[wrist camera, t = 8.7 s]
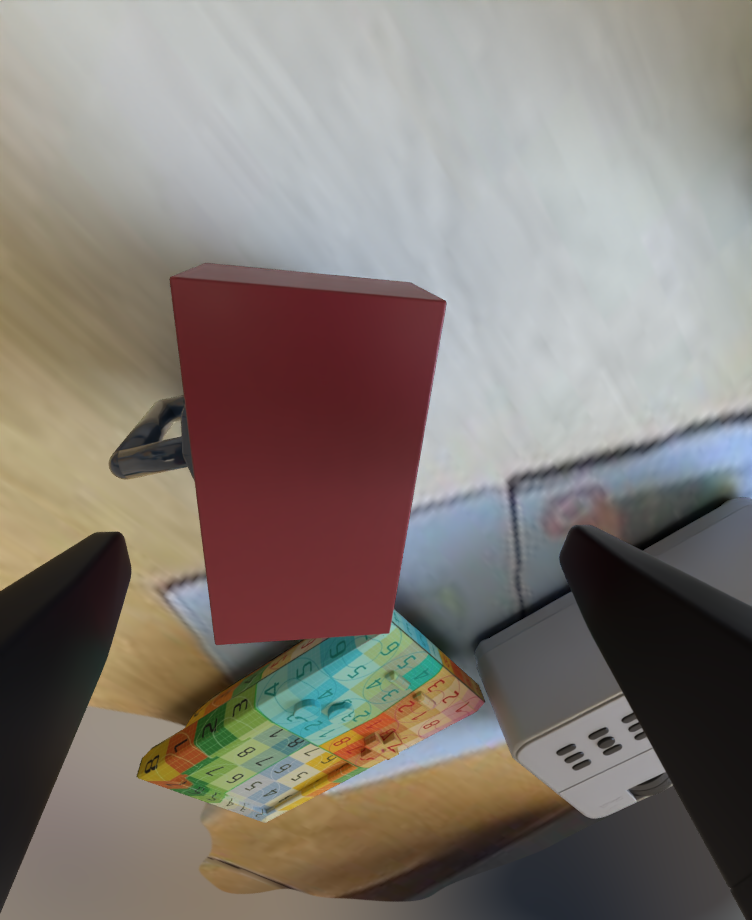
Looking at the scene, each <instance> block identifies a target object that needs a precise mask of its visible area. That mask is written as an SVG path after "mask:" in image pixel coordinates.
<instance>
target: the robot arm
mask: <svg viewBox="0 0 752 920" xmlns="http://www.w3.org/2000/svg"><path fill="white" fill-rule="evenodd" d="M559 561H560V565H561V568H562V570H563V572H564V575H565V577H566V579H567V582H568V584H569V586H570V589H571V591H572V593H573V596H574V598H575V600H576V603H577V605H578V607H579V610H580V612H581V614H582V617H583V619H584V621H585V623H586V625H587V627H588V630H589V631H590V633H591V635H592V637H593V639H594V641H595V643H596V645H597V647H598V648H599V650H600V652H601V654H602V656H603V658H604V659H605V661H606V663H607V665H608V667H609V669H610V670H611V672H612V674H613V676H614V678H615V680H616V681H617V683H618V685H619V687H620V689H621V691H622V692H623V694H624V696H625V698H626V700H627V702H628V703H629V705H630V707H631V709H632V711H633V713H634V714H635V716H636V718H637V720H638V722H639V724H640V725H641V727H642V729H643V731H644V733H645V735H646V736H647V738H648V740H649V742H650V744H651V746H652V747H653V749H654V751H655V753H656V755H657V757H658V758H659V760H660V762H661V764H662V766H663V768H664V769H665V771H666V773H667V775H668V777H669V779H670V780H671V782H672V784H673V786H674V787H675V789H676V791H677V793H678V795H679V797H680V799H681V801H682V802H683V804H684V806H685V808H686V810H687V812H688V813H689V815H690V817H691V819H692V821H693V823H694V824H695V826H696V828H697V830H698V832H699V833H700V835H701V837H702V839H703V841H704V843H705V845H706V846H707V848H708V850H709V852H710V854H711V856H712V857H713V859H714V861H715V863H716V865H717V867H718V869H719V870H720V872H721V874H722V876H723V878H724V880H725V881H726V883H727V885H728V886H729V887H730V888H731V893H732V895H733V897H734V899H735V900H736V902H737V904H738V906H739V908H740V910H741V911H742V913H743V915H744V917H745V919H746V920H752V606H750V605H748V604H746V603H744V602H742V601H740V600H738V599H736V598H734V597H732V596H730V595H728V594H726V593H725V592H723V591H721V590H719V589H717V588H715V587H713V586H711V585H709V584H707V583H705V582H703V581H701V580H699V579H697V578H695V577H693V576H691V575H689V574H687V573H685V572H683V571H681V570H679V569H677V568H675V567H673V566H671V565H669V564H667V563H666V562H664V561H662V560H660V559H658V558H656V557H654V556H652V555H650V554H648V553H646V552H644V551H642V550H640V549H638V548H636V547H634V546H632V545H630V544H628V543H626V542H624V541H622V540H620V539H618V538H616V537H614V536H612V535H610V534H608V533H606V532H605V531H603V530H601V529H599V528H597V527H595V526H592V525H575V526H573V527H572V528H571V529H570V530H569V532H568V535H567V537H566V540H565V542H564V544H563V547H562V549H561V552H560V556H559ZM130 578H131V563H130V559H129V555H128V551H127V546H126V542H125V538H124V536H123V535H122V534H121V533H120V532H96V533H94V534H92V535H90V536H88V537H87V538H85V539H84V540H82V541H80V542H79V543H77V544H76V545H74V546H72V547H71V548H69V549H67V550H66V551H64V552H63V553H61V554H59V555H58V556H56V557H55V558H53V559H51V560H50V561H48V562H47V563H45V564H43V565H42V566H40V567H39V568H37V569H35V570H34V571H32V572H30V573H29V574H27V575H26V576H24V577H22V578H21V579H19V580H18V581H16V582H14V583H13V584H11V585H10V586H8V587H6V588H5V589H3V590H2V591H0V912H1V910H2V908H3V906H4V903H5V901H6V899H7V896H8V894H9V891H10V889H11V887H12V884H13V882H14V879H15V877H16V875H17V872H18V870H19V867H20V865H21V863H22V860H23V858H24V855H25V853H26V851H27V849H28V846H29V843H30V841H31V839H32V837H33V834H34V832H35V829H36V827H37V825H38V822H39V820H40V818H41V815H42V813H43V810H44V808H45V806H46V803H47V801H48V799H49V796H50V794H51V791H52V789H53V787H54V784H55V782H56V780H57V777H58V775H59V772H60V770H61V768H62V765H63V763H64V760H65V758H66V756H67V753H68V751H69V748H70V746H71V744H72V741H73V739H74V737H75V734H76V732H77V730H78V727H79V725H80V722H81V720H82V718H83V715H84V713H85V711H86V708H87V706H88V703H89V701H90V699H91V696H92V694H93V692H94V689H95V687H96V684H97V682H98V680H99V677H100V675H101V672H102V670H103V667H104V665H105V662H106V660H107V657H108V653H109V650H110V647H111V644H112V640H113V637H114V634H115V630H116V627H117V623H118V620H119V616H120V613H121V610H122V606H123V603H124V599H125V596H126V593H127V589H128V586H129V582H130Z"/></svg>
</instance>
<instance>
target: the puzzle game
mask: <svg viewBox="0 0 752 920" xmlns="http://www.w3.org/2000/svg"><path fill="white" fill-rule="evenodd" d="M484 703H485V700H484V697H483V694H482V692H481V689H480V687H479V685H478V684H477V683H476V682H475V681H474V680H473V679H472V678H470V677H469V676H468V675H467V674H466V673H465V672H464V671H463V670H462V669H460V668H459V667H458V666H457V665H456V664H455V663H454V662H453V661H451V660H450V659H449V658H448V657H447V656H446V655H445V654H444V653H443V652H442V651H441V650H440V649H439V648H437V647H436V646H435V645H434V644H433V643H432V642H431V641H430V640H428V639H427V638H426V637H425V636H424V635H423V634H422V633H421V632H420V631H418V630H417V629H416V628H415V627H414V626H413V625H412V624H411V623H409V622H408V621H407V620H406V619H405V618H404V617H403V616H402V615H401V614H399V613H398V612H397V611H396V610H395V609H394V610H393V616H392V622H391V628H390V633H388V634H375V635H360V636H345V637H330V638H315V639H305V640H303V641H301V642H300V643H298V644H297V645H295V646H293V647H292V648H290V649H289V650H287V651H286V652H284V653H282V654H281V655H279V656H278V657H276V658H275V659H273V660H271V661H270V662H268V663H267V664H265V665H263V666H262V667H260V668H259V669H257V670H256V671H254V672H252V673H251V674H249V675H248V676H246V677H244V678H243V679H241V680H240V681H238V682H237V683H235V684H233V685H232V686H230V687H229V688H227V689H226V690H224V691H222V692H221V693H219V694H218V695H216V696H214V697H213V698H212V699H211V700H209V701H208V702H207V703H206V704H205V705H203V706H202V707H201V708H200V709H199V710H197V711H196V712H195V713H194V715H193V716H192V717H191V719H190V721H189V722H188V724H187V725H186V727H185V728H184V729H183V730H181V731H179V732H178V733H176V734H175V735H173V736H171V737H169V738H168V739H166V740H164V741H163V742H161V743H159V744H158V745H156V746H154V747H153V748H152V749H151V750H150V751H149V752H148V753H147V754H146V755H145V756H144V757H143V758H142V760H141V763H140V767H139V770H138V774H137V777H138V778H139V779H142V780H145V781H148V782H150V783H153V784H156V785H159V786H162V787H165V788H167V789H170V790H173V791H176V792H179V793H182V794H185V795H188V796H190V797H193V798H196V799H199V800H202V801H205V802H207V803H210V804H213V805H216V806H219V807H222V808H224V809H227V810H230V811H233V812H236V813H239V814H242V815H244V816H247V817H250V818H253V819H256V820H259V821H261V822H264V823H266V822H268V821H270V820H271V819H273V818H275V817H277V816H279V815H281V814H283V813H285V812H287V811H289V810H290V809H292V808H294V807H296V806H298V805H300V804H302V803H304V802H306V801H308V800H309V799H311V798H313V797H315V796H317V795H319V794H321V793H323V792H325V791H327V790H329V789H330V788H332V787H334V786H336V785H338V784H340V783H342V782H344V781H346V780H348V779H349V778H351V777H353V776H355V775H357V774H359V773H361V772H363V771H365V770H367V769H368V768H370V767H372V766H374V765H376V764H378V763H380V762H382V761H384V760H386V759H387V760H389V759H391V758H393V757H394V756H396V755H398V754H399V752H401V751H403V750H405V749H407V748H408V747H410V746H412V745H414V744H416V743H418V742H420V741H422V740H424V739H426V738H427V737H429V736H431V735H433V734H435V733H437V732H439V731H441V730H443V729H445V728H447V727H448V726H450V725H452V724H454V723H456V722H458V721H460V720H462V719H464V718H466V717H467V716H469V715H471V714H473V713H475V712H477V711H478V709H479V708H480V707H481V706H482V705H483V704H484Z"/></svg>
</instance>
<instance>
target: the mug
mask: <svg viewBox="0 0 752 920" xmlns="http://www.w3.org/2000/svg"><path fill="white" fill-rule="evenodd" d="M177 421H181V432H182V436H181V437H177V438H172V439H167V440H163V439H164V437H165V435H166V434H167V432H168V431H169V429H170V428H171V426H172V425H173V423H174V422H177ZM184 467H188V468H189V470H190V472H191V475H192V477H193V479H194V472H193V463H192V455H191V447H190V439H189V431H188V423H187V415H186V407H185V399H184V395H181V396H176V397H171V398H166V399H162V400H158V401H157V402H155V403H154V404H153V406H152V407H151V408H150V409H149V411H148V412H147V413H146V414H145V415H144V417H143V418H142V419H141V420H140V421H139V423H138V424H137V425H136V426H135V428H134V429H133V430H132V431H131V432H130V434H129V435H128V436H127V437H126V439H125V440H124V441H123V442H122V443H121V445H120V446H119V447H118V448H117V449H116V451H115V452H114V453H113V454H112V456H111V457H110V459H109V469H110V471H111V472H112V474H113V475H115V476H116V477H118V478H121V479H133V478H138V477H142V476H147V475H152V474H156V473H161V472H166V471H170V470H175V469H180V468H184ZM194 481H195V480H194Z"/></svg>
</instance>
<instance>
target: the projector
mask: <svg viewBox="0 0 752 920" xmlns="http://www.w3.org/2000/svg"><path fill="white" fill-rule="evenodd" d="M643 551H644V552H646V553H648V554H650V555H652V556H654V557H656V558H658V559H660V560H662V561H664V562H666V563H667V564H669V565H671V566H673V567H675V568H677V569H679V570H681V571H683V572H685V573H687V574H689V575H691V576H693V577H695V578H697V579H699V580H701V581H703V582H705V583H707V584H709V585H711V586H713V587H715V588H717V589H719V590H721V591H723V592H725V593H726V594H728V595H730V596H732V597H734V598H736V599H738V600H740V601H742V602H744V603H746V604H748V605H750V606H752V499H750V498H747V497H740V498H736V499H730V500H728V501H726V502H724V503H723V504H722V505H721V506H720V507H718V508H717V509H715V510H713V511H711V512H710V513H708V514H706V515H704V516H703V517H701V518H699V519H697V520H696V521H694V522H692V523H690V524H689V525H687V526H685V527H683V528H682V529H680V530H678V531H676V532H675V533H673V534H671V535H669V536H668V537H666V538H664V539H662V540H661V541H659V542H657V543H655V544H654V545H652V546H650V547H648V548H646V549H645V550H643ZM475 658H476V661H477V670H478V672H479V675H480V677H481V680H482V682H483V685H484V687H485V690H486V692H487V695H488V697H489V700H490V702H491V705H492V707H493V710H494V712H495V715H496V717H497V720H498V722H499V725H500V727H501V730H502V732H503V735H504V737H505V740H506V742H507V745H508V747H509V750H510V752H511V755H512V757H513V758H514V759H515V760H516V761H517V762H518V763H520V764H521V765H522V766H523V767H525V768H526V769H527V770H528V771H530V772H531V773H532V774H533V775H535V776H536V777H537V778H538V779H540V780H541V781H542V782H543V783H545V784H546V785H547V786H548V787H550V788H551V789H552V790H553V791H555V792H556V793H557V794H558V795H560V796H561V797H562V798H563V799H565V800H566V801H567V802H568V803H570V804H571V805H572V806H573V807H575V808H576V809H577V810H578V811H580V812H581V813H582V814H583V815H585V816H587V817H589V818H600V817H604V816H607V815H610V814H612V813H614V812H616V811H618V810H620V809H623V808H625V807H627V806H629V805H631V804H634V803H636V802H638V801H640V800H642V799H644V798H647V797H649V796H651V795H655V794H658V793H660V792H662V791H664V790H665V789H667V788H668V787H671V786H673V784H672V782H671V780H670V779H669V777H668V775H667V773H666V771H665V769H664V768H663V766H662V764H661V762H660V760H659V758H658V757H657V755H656V753H655V751H654V749H653V747H652V746H651V744H650V742H649V740H648V738H647V736H646V735H645V733H644V731H643V729H642V727H641V725H640V724H639V722H638V720H637V718H636V716H635V714H634V713H633V711H632V709H631V707H630V705H629V703H628V702H627V700H626V698H625V696H624V694H623V692H622V691H621V689H620V687H619V685H618V683H617V681H616V680H615V678H614V676H613V674H612V672H611V670H610V669H609V667H608V665H607V663H606V661H605V659H604V658H603V656H602V654H601V652H600V650H599V648H598V647H597V645H596V643H595V641H594V639H593V637H592V635H591V633H590V631H589V630H588V627H587V625H586V623H585V621H584V619H583V617H582V614H581V612H580V610H579V607H578V605H577V603H576V600H575V598H574V596H573V593H572V591H571V592H569V593H567V594H566V595H564V596H562V597H560V598H559V599H557V600H555V601H553V602H552V603H550V604H548V605H546V606H545V607H543V608H541V609H539V610H538V611H536V612H534V613H532V614H531V615H529V616H527V617H525V618H524V619H522V620H520V621H518V622H517V623H515V624H513V625H511V626H510V627H508V628H506V629H504V630H502V631H501V632H499V633H497V634H495V635H494V636H492V637H490V638H487V639H484V640H482V641H481V642H480V643H479V645H478V647H477V648H476V650H475Z"/></svg>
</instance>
